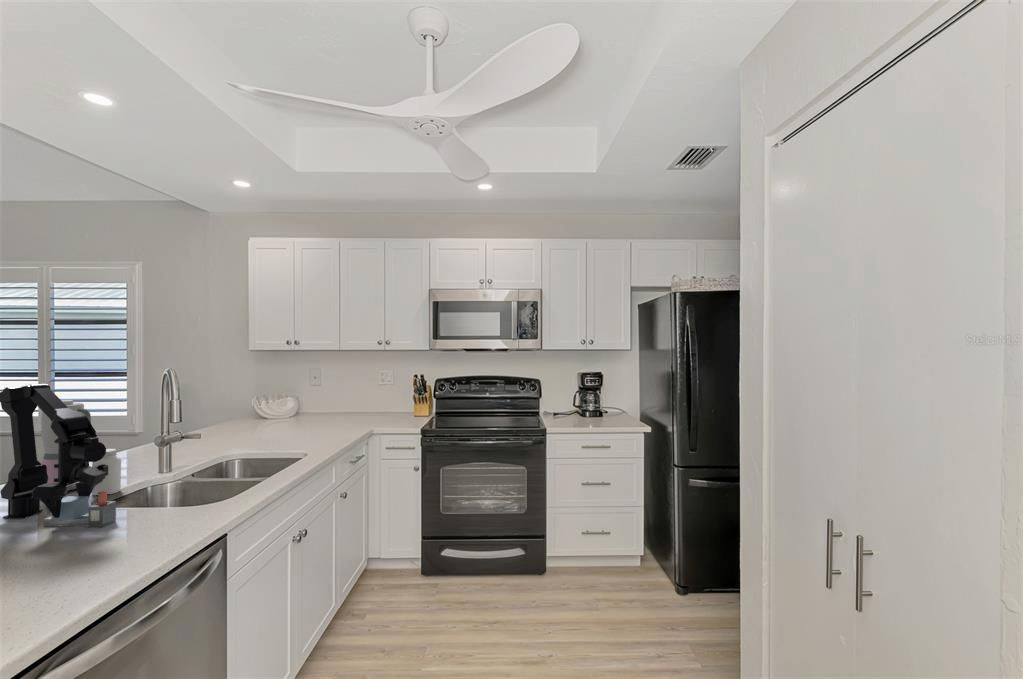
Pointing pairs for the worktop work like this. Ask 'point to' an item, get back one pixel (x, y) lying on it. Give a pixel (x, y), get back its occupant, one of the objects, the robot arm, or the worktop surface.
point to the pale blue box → (73, 507)
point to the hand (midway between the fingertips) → (70, 511)
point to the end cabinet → (101, 514)
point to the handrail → (67, 522)
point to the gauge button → (102, 498)
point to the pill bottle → (109, 473)
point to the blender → (51, 447)
